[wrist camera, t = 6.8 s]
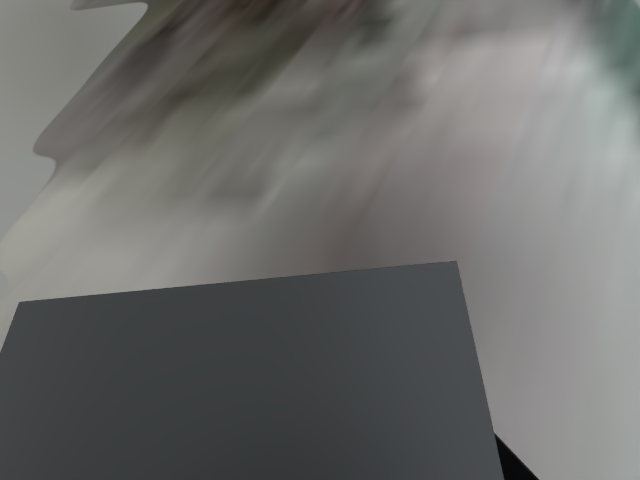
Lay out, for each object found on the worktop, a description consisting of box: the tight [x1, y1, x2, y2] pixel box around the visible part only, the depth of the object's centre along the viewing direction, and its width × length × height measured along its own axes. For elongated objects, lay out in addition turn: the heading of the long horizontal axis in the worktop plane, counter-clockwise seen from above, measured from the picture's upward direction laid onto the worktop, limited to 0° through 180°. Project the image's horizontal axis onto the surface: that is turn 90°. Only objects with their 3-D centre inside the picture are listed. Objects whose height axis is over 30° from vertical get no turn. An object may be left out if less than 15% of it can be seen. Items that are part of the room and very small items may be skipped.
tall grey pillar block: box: [0, 261, 504, 480], centre depth 8 cm, size 5×6×12 cm
